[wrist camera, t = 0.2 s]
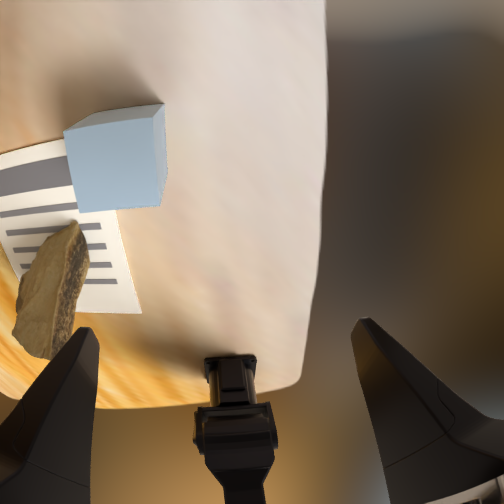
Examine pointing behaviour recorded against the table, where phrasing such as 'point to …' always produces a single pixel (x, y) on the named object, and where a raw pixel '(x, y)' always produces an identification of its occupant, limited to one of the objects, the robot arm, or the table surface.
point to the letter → (61, 225)
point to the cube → (118, 158)
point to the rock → (51, 293)
